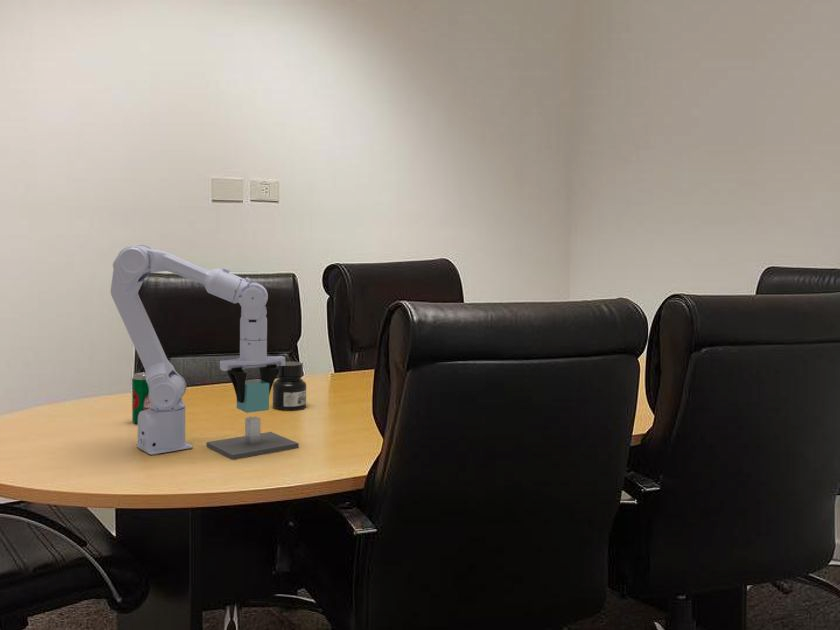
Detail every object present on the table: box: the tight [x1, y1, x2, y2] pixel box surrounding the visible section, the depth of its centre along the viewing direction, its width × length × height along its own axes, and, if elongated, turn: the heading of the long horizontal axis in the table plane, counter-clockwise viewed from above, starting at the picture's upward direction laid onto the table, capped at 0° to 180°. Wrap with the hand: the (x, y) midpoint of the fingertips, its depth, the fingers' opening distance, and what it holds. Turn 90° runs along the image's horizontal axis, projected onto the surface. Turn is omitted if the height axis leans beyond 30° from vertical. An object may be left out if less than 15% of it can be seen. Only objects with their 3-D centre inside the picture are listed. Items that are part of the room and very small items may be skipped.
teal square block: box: [236, 378, 270, 414], centre depth 171 cm, size 5×5×6 cm
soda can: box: [131, 371, 151, 425], centre depth 190 cm, size 5×5×12 cm
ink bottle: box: [272, 361, 307, 411], centre depth 211 cm, size 10×9×12 cm
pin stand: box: [206, 415, 300, 460], centre depth 171 cm, size 16×12×6 cm
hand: (252, 400), depth 171 cm, fingers closed on teal square block, 5 cm apart
